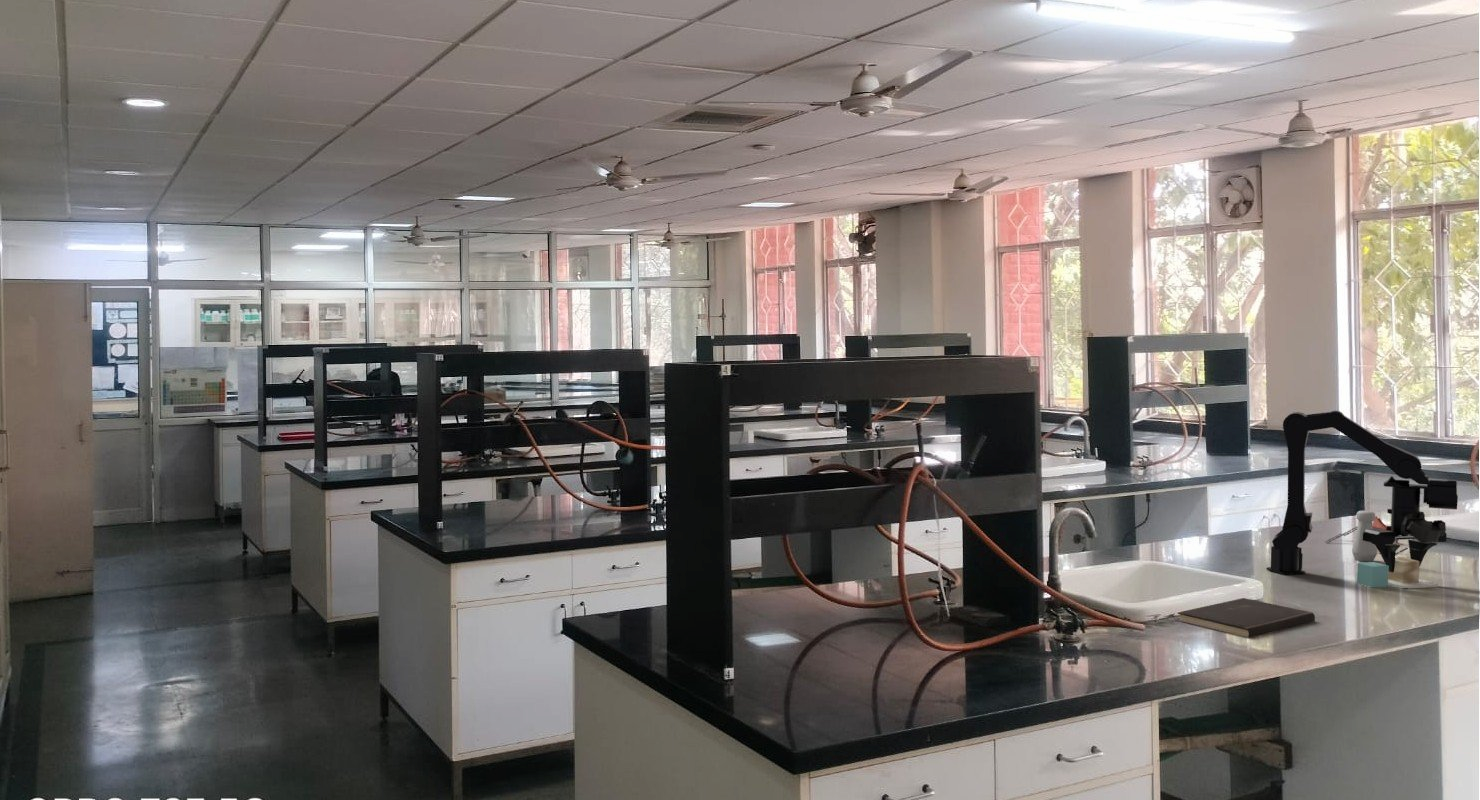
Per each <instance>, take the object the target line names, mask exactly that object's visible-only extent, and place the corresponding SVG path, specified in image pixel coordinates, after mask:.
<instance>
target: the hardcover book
mask: <svg viewBox="0 0 1480 800" xmlns="http://www.w3.org/2000/svg"><path fill="white" fill-rule="evenodd" d="M1177 615H1179V621H1180V622H1183V623H1186V624H1187V623H1188V624H1191V625H1196V626H1200V627H1204V628H1207V629H1208V628H1209V629H1213V630H1216V631H1221V632H1224V633H1229V634H1232V635H1236V636H1242V637H1245V638H1248V639H1250V638H1255V637H1258V636H1263V635H1267V634H1271V633H1275V632H1278V631H1282V630H1283V631H1284V630H1286V629H1290V628H1293V627H1299V626H1302V625H1305V624H1306V625H1307V624H1310V623H1315V622H1314V621H1316V617H1315V613H1314V612H1312V611H1307V610H1303V609H1297V608H1293V607H1287V606H1283V605H1278V604H1274V603H1273V604H1272V603H1268V602H1263V601H1261V600H1260V601H1259V600H1255V599H1249V598H1244V597H1242V598H1236V599H1232V600H1229V601H1224V602H1220V603H1219V602H1218V603H1214V604H1210V605H1207V606H1206V605H1205V606H1202V607H1201V606H1200V607H1197V608H1196V607H1195V608H1193V609H1187V610H1182V611H1179V612H1177Z"/></svg>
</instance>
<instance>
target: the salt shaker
mask: <svg viewBox="0 0 1480 800" xmlns="http://www.w3.org/2000/svg"><path fill="white" fill-rule="evenodd" d="M1355 516H1356V520H1358V522H1357V526H1356V527H1357V528H1356V529H1357V530H1355V535H1354V540H1353V544H1352V547H1351V548H1352V549H1351V553H1352V555H1353V557H1354V560H1355V561H1357V560H1358V562H1362V561H1363V562H1362V563H1365V562H1375V559H1376V557H1377V555H1378V549H1377V547H1376V546H1375V544H1372V543H1371V542H1367V541H1363V532H1364V531H1365V530H1366V529H1373V521H1374V520H1375V517H1376V513H1375V512H1374V511H1370V510H1358V511H1357V512H1356V515H1355Z"/></svg>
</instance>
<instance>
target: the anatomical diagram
mask: <svg viewBox="0 0 1480 800" xmlns="http://www.w3.org/2000/svg"><path fill="white" fill-rule="evenodd" d="M1372 524H1373V529H1382V530H1386V531H1388V530H1387V526H1388V525H1386V524H1385V523H1384V522H1383V521H1382V520H1381V518H1380V517H1379V518H1378V515H1377V516H1376V515H1375V520H1374V521H1372ZM1356 531H1357V526H1355V527H1353V528H1351V529H1349V530H1348V531H1345V532H1343V533H1339V534H1338V535H1335V536H1334V537H1332V538H1329V539H1328V540H1325V543H1327V542H1328V543H1327V544H1329V543H1331V542H1333V541H1334V540H1336V539H1337V540H1338V539H1339V538H1340V537H1342V536H1343V537H1346V536H1348V535H1350V534H1351V533H1353V532H1356ZM1396 542H1397V543H1396V545H1398V543H1399V540H1396ZM1402 547H1403V549H1401V550H1399V551H1397V552H1396V556H1397V555H1399V554H1400V553H1402V552H1405V551H1406V550H1408V549H1409V547H1405V546H1403V545H1402ZM1378 554H1379V555H1381V554H1380V552H1379V553H1378V552H1377V555H1378Z"/></svg>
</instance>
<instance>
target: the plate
mask: <svg viewBox="0 0 1480 800" xmlns="http://www.w3.org/2000/svg"><path fill="white" fill-rule="evenodd" d="M1390 585H1391V587H1394V588H1397V587H1398V588H1397V589H1401V588H1408V589H1419V588H1420V589H1421V588H1425V589H1426V588H1438V587H1439V584H1438V583H1434V582H1431V581H1427V580H1424V579H1420V578H1419V582H1414V583H1400V582H1396V581H1393V580H1389V579H1388V586H1390Z"/></svg>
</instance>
